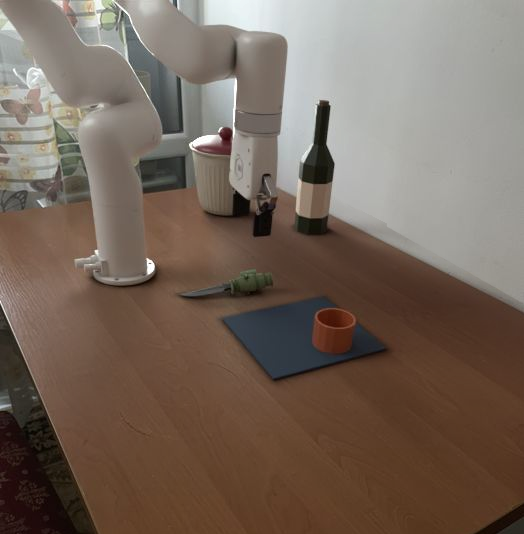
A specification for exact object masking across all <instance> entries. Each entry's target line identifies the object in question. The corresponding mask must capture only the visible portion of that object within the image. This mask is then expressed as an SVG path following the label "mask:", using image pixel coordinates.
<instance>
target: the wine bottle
mask: <svg viewBox="0 0 524 534" xmlns="http://www.w3.org/2000/svg"><path fill="white" fill-rule="evenodd" d="M314 107H315V109H314V117H313V131H312V137H311V138H312V140H311V144H309V146H308V147H307V149H306V150H305V152H304V153H303V155H302V156H301V158H300V159H299V167H298V169H299V170H298V178H297V179H298V180H297V189H296V191H297V192H296V202H295V212H294V213H295V214H294V225H293V226H294V229H295V230H296V232H298V233H301V234H305V235H321V234H324V233H325V232H326V231H327V230H328V222H329V216H330V215H329V214H330V205H331V199H332V190H333V182H334V173H335V165H336V163H335V161H334V159H333V157H332V154H331V151H330V149H329V146H328V144H327V143H328V135H329V134H328V133H329V125H330V117H331V116H330V115H331V108H332V106H331V105H330V101H329V100H326V99H319V100H317V103H316V104H315V106H314Z"/></svg>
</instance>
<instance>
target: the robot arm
mask: <svg viewBox="0 0 524 534" xmlns="http://www.w3.org/2000/svg"><path fill="white" fill-rule="evenodd" d="M112 1H113V3H114V4H116V6H118V7H119V8H120V9H121V10H122V11H124V12H125V14H127V15H128V17H129V20H130V23H131V26H132V28H133V30H134V31H135V34H136V35H137V37H138V39H139V41H140V42H141V43H142V45H143V46H144V48H145V49H147V51H148V52H149V53H150V54H151V55H152V56H153V57H154V58H155V59H157V61H159V62H160V63H161V64H162V65H163V66H164V67H166V68H167V69H168V70H169V71H171V73H173V74H174V75H175V76H177V77H178V78H180V79H181V80H183V81H185V82H187V83H189V84H191V85H192V84H193V85H196V86H197V85H199V86H202V85H207V84H210V83H215V82H221V81H225V80H231V79H235V81H234V84H235V85H234V104H233V105H234V106H233V107H234V108H233V128H232V131H233V142H232V150H231V161H230V173H229V181H230V184H231V185H232V186H233V193H236V194H233V205H232V214H233V215H232V216H234V217H243V216H249V215H250V211H251V201H252V200H253V203H254V209H255V213H254V212H253V219H252V237H254V238H262V237H271V236H272V235H271V234H272V228H273V224H272V223H273V217H274V214H275V209H276V207H277V202H278V198H279V193H278V191H277V182H278V181H277V180H278V164H279V163H278V159H279V157H278V155H279V153H278V152H279V146H278V145H279V142H278V139H279V138H278V136H280V135H281V130H282V121H283V120H282V119H283V107H284V98H285V97H284V96H285V95H284V94H285V86H286V75H287V64H288V63H287V61H288V47H289V46H288V40H287V39H286V37H285V36H284V35H282V34H280V33H276V32H272V31H271V32H269V31H261V30H260V31H259V30H246V29H243V28H240V27H237V26H232V25H228V24H205V25H203V24H201V25H198V24H196V23H195V22H194V21H192V20H191V19H190V18H189V17H188V16H187V15H185V14H184V13H183V12H182V11H181V10H180V9H179V8H178V7H177V6H175V5H174V4H173V3H172V2H171V0H112ZM0 10H1V12H2V13H3V14H4V17H6V18H7V20H8V21H9V23H10V24H11V25H12V26H13V28H14V29H15V31H16V32H17V33H18V34H19V36H20V37H21V39H22V40H23V42H24V44H25V46H26V47H27V49H28V51H29V52H30V54H31V55H32V58H33V59H34V60H35V62H36V64H37V65H38V67H39V68H40V70H41V71H42V73H43V75H44V76H45V78H46V80H47V82H48V83H49V84H50V86H51V88H52V90H53V91H54V92H55V94H56V95H57V97H58V98H59V99H60V101H62V103H63V104H65V105H66V106H67V107H70V108H73V109H83V108H89V107H93V106H97V105H102V106H103V107H102V108H98V109H95V110H93V111H91V112H90V113H88V114H87V115H85V116H84V117H83V119H82V120H81V121H80V123H79V126H78V128H77V129H78V130H77V142H78V146H79V150H80V153H81V156H82V159H83V162H84V166H85V169H86V175H87V179H88V186H89V193H90V199H91V207H92V215H93V222H94V231H95V239H96V246H97V249H95V250H94V251H93V253H94V254H93V255H90V256H89V257H85V258H84V257H82V258H75V259H74V266H75V269H76V270H78V269H80V270H81V269H83V270H84V272H85V273H86V272H92V276H93V277H94V279H95V280H97V281H98V282H99V283H102V284H105V285H110V286H120V287H121V286H133V285H137V284H142V283H144V282H146V281H148V280H150V279H151V278H153V277H154V275H155V274H156V265H155V263H154V262H153V261H152V260H151V259H149V258H148V251H147V239H146V227H145V211H144V201H143V200H144V199H143V198H144V197H143V187H142V182H141V180H140V177H139V174H138V172H137V170H136V168H135V165H134V161H133V160H135V159H137V158H139V157H142V156H144V155H147V154H149V153H151V152H153V151H155V150H156V149H157V148H158V147H159V145H160V143H161V142H162V139H163V124H162V121H161V118H160V116H159V113H158V111H157V109H156V107H155V105H154V104H153V102H152V99H150V97H149V95H148V93H147V92H146V89H145V88H144V87H143V84H142V83H141V81H140V79H139V78H138V76H137V74H136V73H135V71H134V68H133V67H132V65H131V64H130V62H129V61H128V60H127V59H126V57H125V56H124V55H123V54H122V53H121V52H119V51H118V50H117V49H115V48H114V47H111V46H109V45H105V44H92V45H90V44H89V45H88V44H86V43H85V42H84V40H82V38H81V37H80V35H79V34H78V32H77V31H76V29H75V27H74V26H73V24H72V22H71V20H70V19H69V17H68V16H67V15H66V12H64V10H63V9H62V8H61V7H60V6H59V5H58V4H57V2H55V1H54V0H0ZM250 200H251V201H250ZM262 201H263V203H262V204H261V202H262Z"/></svg>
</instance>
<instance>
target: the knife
mask: <svg viewBox="0 0 524 534" xmlns="http://www.w3.org/2000/svg"><path fill="white" fill-rule="evenodd" d="M239 273H240V276H239V277H237V278H233V279H229V280H228V283H221V284H219V285H213V286H209V287H204V288H200V289H197V290H192V291H188V292H184V293H179V295H180V296H182V297H191V298H193V297H204V296H209V295H214V294H220V293H224V292H227V291H230V292H231V294H232V295H234V294H235V293H238V292H240V293H246V294H247V295H250V292H251V293H252V292H255V291H257V290H262V289H265V288H266V287H274V278H273V273H272V272H265V274H264V273H258V271H257V270H256V268H253V269H247V270H242V271H241V270H240V271H239Z"/></svg>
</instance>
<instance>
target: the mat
mask: <svg viewBox="0 0 524 534" xmlns="http://www.w3.org/2000/svg"><path fill="white" fill-rule="evenodd" d="M326 308H337V309H340V308H339V307H338V306H336V305H335V304H334V303H333V302H331V301H330V300H329V299H328V298H326V297H325V296H319V297H313V298H309V299H305V300H300V301H295V302H290V303H286V304H281V305H277V306H270V307H267V308H261V309H258V310H257V309H256V310H252V311H247V312H243V313H239V314H233V315H228V316H224V317H221V320H222V322H223V323H224V324H225V325H226V327H228V329H229V330H230V331H231V332H232V333H233V334H234V336H235V337H236V338H237V339H238V341H240V343H241V344H242V345H243V347H244V348H245V349H246V350H247V351H248V352H249V353H250V354H251V356H252V357H253V358H254V359H255V360H256V362H257V363H258V364H259V365H260V366H261V367H262V369H263V370H264V371H265V372H266V373H267V374H268V376H269V377H270V378H271V379H272V380H273V381H276V380H280V379H283V378H288V377H292V376H295V375H298V374H302V373H306V372H309V371H313V370H317V369H320V368H324V367H329V366H332V365H335V364H339V363H342V362H346V361H350V360H353V359H357V358H361V357H364V356H369V355H373V354H375V353H380V352H383V351H386V350H387V347H386V346H385V345H384V344H382V343H381V342H380V340H378V339H376V338H375V337H374V336H373V335H371V333H369V332H368V331H367V330H366V329H364V328H363V327H362V326H361V325H359V324H358V323H357V322H356V325H355V331H354V337H353V342H352V346H351V349H350V350H349V351H347V352H345V353H342V354H329V353H325V352H322V351H320V350H318V349H317V348H315V347H314V345H313V343H312V335H313V327H314V318H315V315H316V313H317V312H318V311H320V310H322V309H326Z"/></svg>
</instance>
